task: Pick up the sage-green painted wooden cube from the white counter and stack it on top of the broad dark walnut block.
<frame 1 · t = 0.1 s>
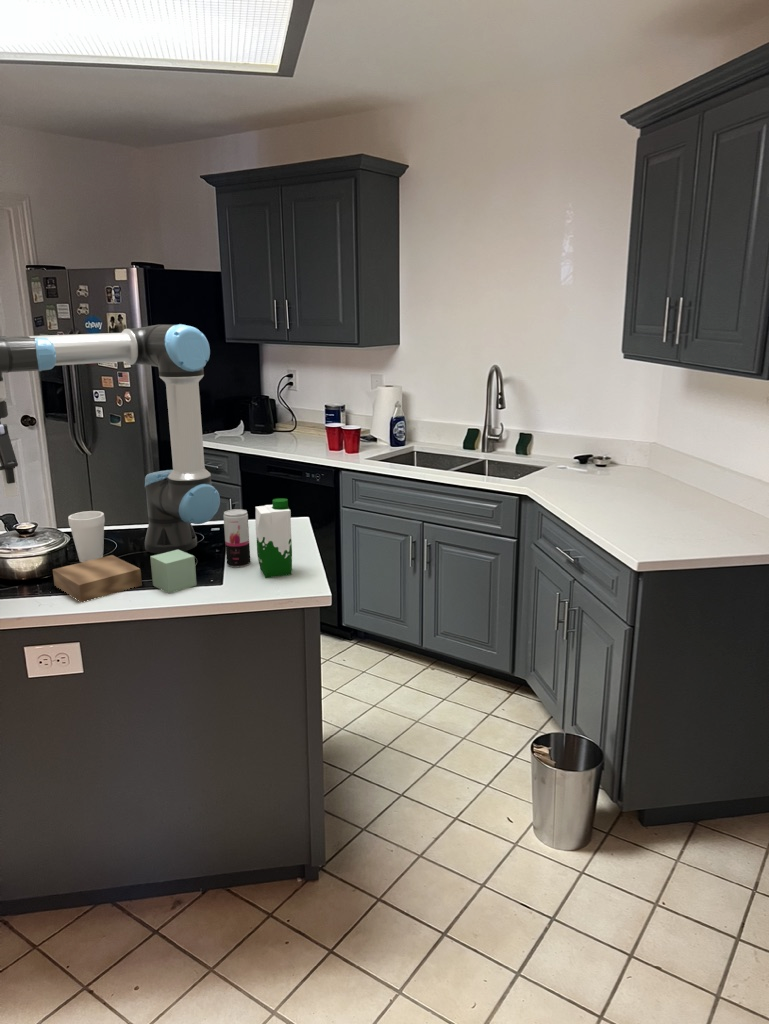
hand: (1, 492, 176), 28 cm above the worktop, fingers open, 13 cm apart
milk carton: (275, 573, 203), on the worktop
sage cube: (174, 585, 194), on the worktop
foam cup: (91, 559, 215), on the worktop
beverage can: (238, 564, 210), on the worktop
walnut block: (98, 587, 194), on the worktop
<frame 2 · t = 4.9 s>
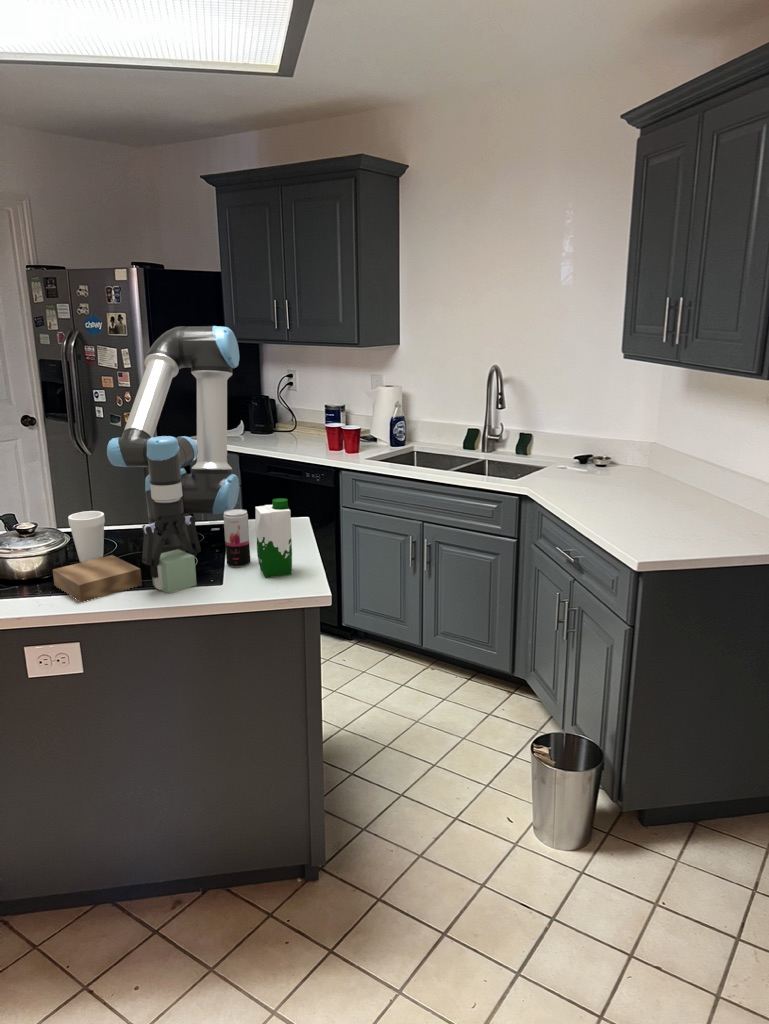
hand: (174, 584, 194), 0 cm above the worktop, fingers closed on sage cube, 8 cm apart
sage cube: (174, 585, 194), on the worktop, touching gripper
everything else where it was.
when the fingers open (6 cm above the worktop, at t = 11.1 s): sage cube drops 1 cm, point 4 cm above the worktop.
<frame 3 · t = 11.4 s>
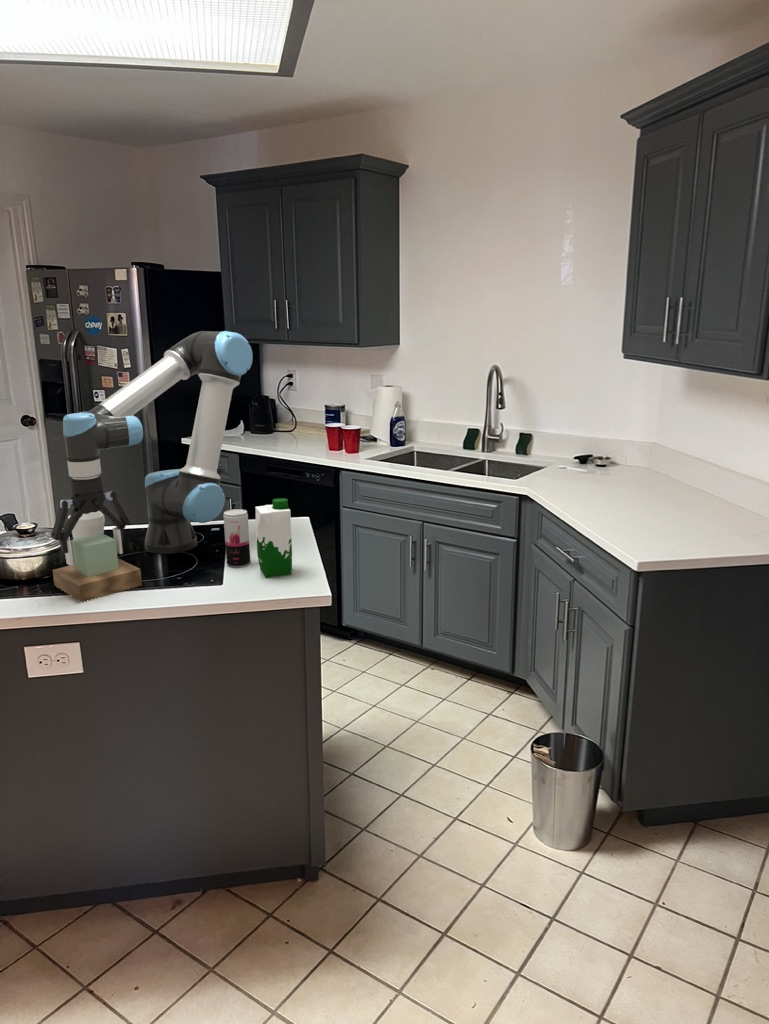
hand: (95, 558, 192), 7 cm above the worktop, fingers open, 12 cm apart
sage cube: (96, 569, 193), point 4 cm above the worktop
everything else where it was.
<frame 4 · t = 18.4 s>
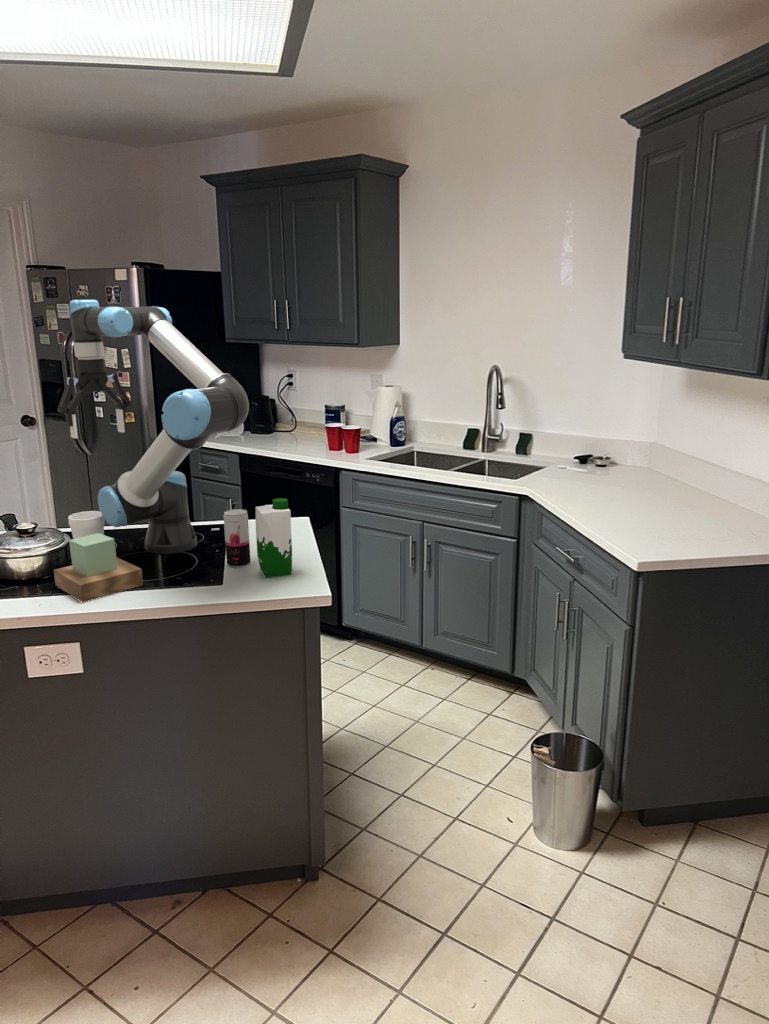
hand: (98, 435, 211), 35 cm above the worktop, fingers open, 13 cm apart
sage cube: (95, 569, 193), point 4 cm above the worktop, touching walnut block
walnut block: (99, 587, 194), on the worktop, touching sage cube
everything else where it was.
at the end: sage cube inside the target area on the walnut block (0.7 cm from its centre), point 5.0 cm above the walnut block's base; sage cube tilted 0°; the gripper is holding nothing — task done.
